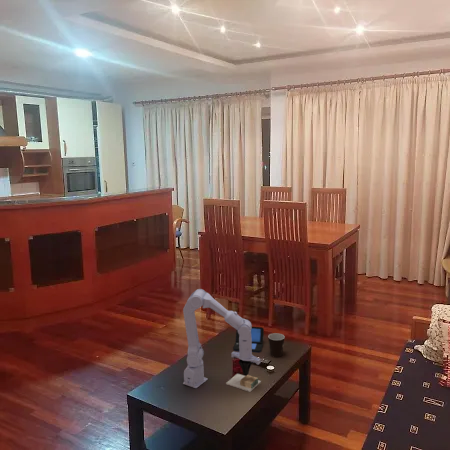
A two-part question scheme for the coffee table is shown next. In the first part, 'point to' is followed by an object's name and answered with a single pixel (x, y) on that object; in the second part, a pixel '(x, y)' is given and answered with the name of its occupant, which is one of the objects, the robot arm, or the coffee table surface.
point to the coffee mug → (276, 344)
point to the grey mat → (236, 383)
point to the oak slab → (249, 381)
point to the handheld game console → (256, 339)
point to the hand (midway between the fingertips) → (246, 374)
